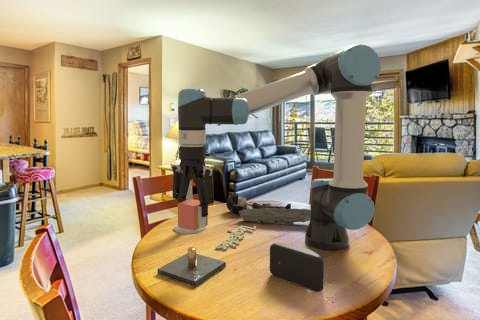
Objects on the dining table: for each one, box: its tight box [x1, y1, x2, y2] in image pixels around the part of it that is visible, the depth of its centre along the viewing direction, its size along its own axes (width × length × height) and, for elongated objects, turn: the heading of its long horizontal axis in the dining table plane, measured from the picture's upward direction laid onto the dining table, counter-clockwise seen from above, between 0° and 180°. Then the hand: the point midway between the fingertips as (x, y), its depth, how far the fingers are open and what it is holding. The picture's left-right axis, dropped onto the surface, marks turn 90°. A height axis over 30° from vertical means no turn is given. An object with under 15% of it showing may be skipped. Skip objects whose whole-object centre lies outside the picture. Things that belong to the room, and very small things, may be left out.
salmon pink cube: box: [177, 198, 209, 231], centre depth 92 cm, size 6×6×7 cm
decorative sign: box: [215, 225, 257, 252], centre depth 120 cm, size 26×1×10 cm
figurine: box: [225, 194, 292, 214], centre depth 150 cm, size 20×9×30 cm
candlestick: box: [173, 179, 207, 235], centre depth 129 cm, size 13×13×30 cm
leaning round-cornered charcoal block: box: [269, 242, 325, 293], centre depth 87 cm, size 16×5×9 cm, turn 49°
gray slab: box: [157, 246, 227, 288], centre depth 93 cm, size 14×14×6 cm
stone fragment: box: [238, 208, 311, 226], centre depth 136 cm, size 31×9×5 cm
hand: (193, 225), depth 93 cm, fingers closed on salmon pink cube, 6 cm apart
